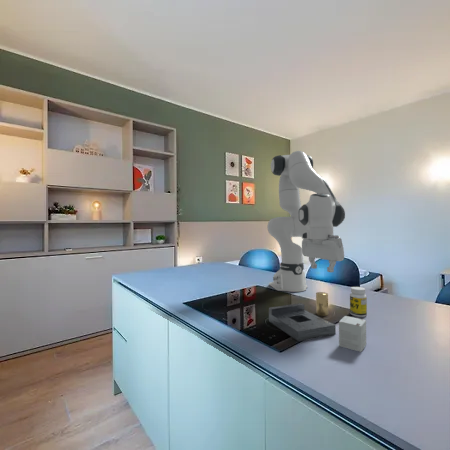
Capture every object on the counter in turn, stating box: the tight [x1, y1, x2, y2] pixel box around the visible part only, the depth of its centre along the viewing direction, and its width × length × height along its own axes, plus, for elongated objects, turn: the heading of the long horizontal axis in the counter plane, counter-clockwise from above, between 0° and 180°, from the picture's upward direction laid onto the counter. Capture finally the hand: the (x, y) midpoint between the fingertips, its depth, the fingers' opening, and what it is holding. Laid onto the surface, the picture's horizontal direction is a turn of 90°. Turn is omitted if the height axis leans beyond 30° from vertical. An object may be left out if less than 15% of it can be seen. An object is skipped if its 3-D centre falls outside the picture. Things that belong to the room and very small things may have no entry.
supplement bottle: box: [349, 286, 368, 318], centre depth 103 cm, size 6×6×10 cm
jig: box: [268, 302, 337, 342], centre depth 92 cm, size 18×14×5 cm
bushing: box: [315, 291, 329, 317], centre depth 104 cm, size 4×4×8 cm
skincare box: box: [338, 315, 367, 353], centre depth 78 cm, size 6×6×7 cm
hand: (321, 270), depth 104 cm, fingers open, 8 cm apart
